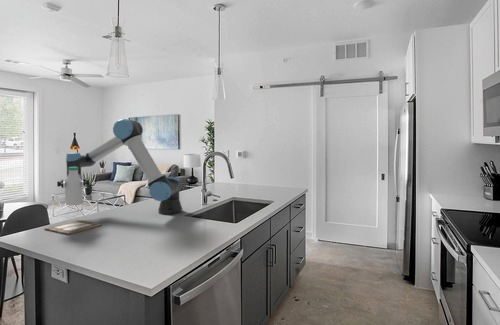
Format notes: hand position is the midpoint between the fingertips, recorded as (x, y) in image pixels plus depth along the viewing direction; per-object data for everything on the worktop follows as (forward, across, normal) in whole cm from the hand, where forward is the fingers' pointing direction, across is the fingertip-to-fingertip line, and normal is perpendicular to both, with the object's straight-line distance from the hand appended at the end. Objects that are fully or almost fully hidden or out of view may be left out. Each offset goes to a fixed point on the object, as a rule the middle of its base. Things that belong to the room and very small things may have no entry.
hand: (73, 185), depth 151 cm
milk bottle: (-5, 0, -11) cm, 12 cm away
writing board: (-3, +1, -23) cm, 24 cm away
